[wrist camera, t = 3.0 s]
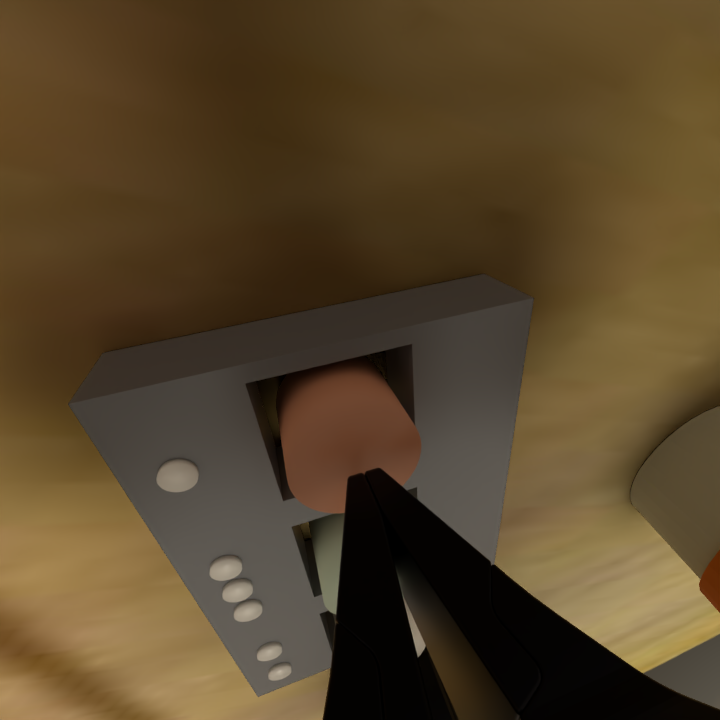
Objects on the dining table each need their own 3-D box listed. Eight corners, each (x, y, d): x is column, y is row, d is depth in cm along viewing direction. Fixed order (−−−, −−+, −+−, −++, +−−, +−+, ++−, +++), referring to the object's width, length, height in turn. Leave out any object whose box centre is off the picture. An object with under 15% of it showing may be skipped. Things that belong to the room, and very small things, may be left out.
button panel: (463, 560, 21) (490, 608, 19) (255, 637, 19) (258, 702, 17) (484, 273, 13) (538, 300, 10) (103, 352, 10) (64, 409, 8)
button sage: (396, 525, 16) (424, 593, 14) (316, 552, 16) (331, 629, 13) (391, 469, 14) (423, 535, 12) (300, 496, 14) (314, 573, 11)
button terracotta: (387, 426, 13) (422, 490, 11) (288, 454, 13) (301, 529, 10) (380, 338, 11) (420, 390, 9) (264, 365, 11) (271, 430, 8)
